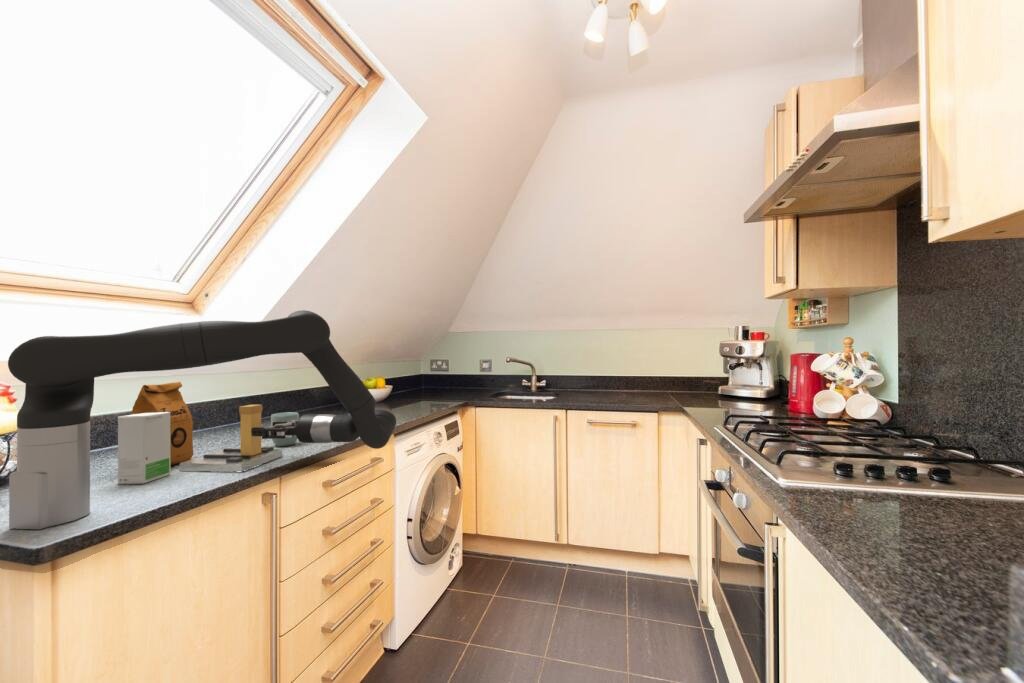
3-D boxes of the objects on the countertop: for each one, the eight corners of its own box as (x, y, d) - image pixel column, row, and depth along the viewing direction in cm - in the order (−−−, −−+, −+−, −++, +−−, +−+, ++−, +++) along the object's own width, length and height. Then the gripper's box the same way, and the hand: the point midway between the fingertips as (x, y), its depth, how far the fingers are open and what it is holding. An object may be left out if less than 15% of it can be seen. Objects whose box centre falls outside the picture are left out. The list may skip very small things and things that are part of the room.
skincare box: (143, 484, 100) (143, 416, 100) (114, 484, 100) (114, 416, 100) (172, 474, 108) (172, 411, 108) (146, 474, 108) (146, 411, 108)
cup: (279, 449, 134) (279, 416, 134) (266, 446, 138) (266, 414, 139) (303, 444, 141) (303, 413, 141) (290, 441, 145) (290, 411, 145)
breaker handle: (251, 455, 116) (251, 406, 116) (239, 455, 116) (239, 406, 116) (262, 451, 120) (262, 404, 120) (251, 451, 121) (250, 404, 121)
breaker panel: (241, 472, 109) (241, 461, 109) (179, 471, 111) (179, 460, 111) (282, 456, 125) (282, 446, 125) (227, 455, 126) (227, 445, 127)
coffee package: (199, 460, 122) (199, 381, 122) (156, 472, 110) (156, 384, 110) (169, 458, 124) (169, 381, 124) (123, 471, 111) (123, 384, 112)
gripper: (333, 410, 124) (279, 410, 125) (304, 419, 109) (244, 419, 111) (333, 437, 123) (279, 437, 125) (304, 449, 109) (244, 448, 111)
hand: (263, 428), depth 118 cm, fingers open, 8 cm apart
